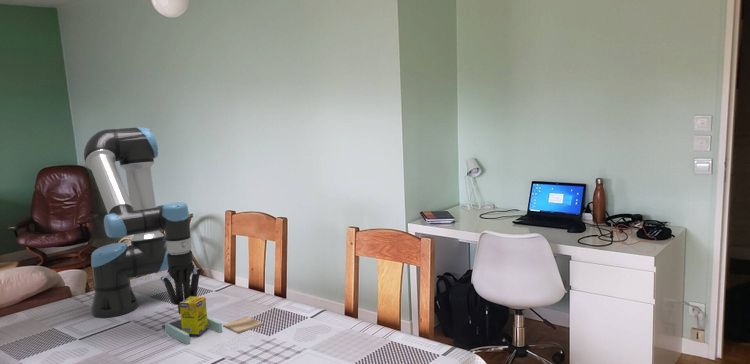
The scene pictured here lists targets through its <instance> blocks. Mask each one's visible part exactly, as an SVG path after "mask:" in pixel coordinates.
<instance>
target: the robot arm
mask: <svg viewBox="0 0 750 364" xmlns="http://www.w3.org/2000/svg"><path fill="white" fill-rule="evenodd" d="M158 155H159V148H158V142H157V140H156V137H155V135H154V133H153V131H152V129H149V128H148V127H137V126H135V127H128V128H127V127H126V128H125V127H124V128H112V129H110V128H107V129H103V130H100V131H97V132H96V133H95V134H93V135H92V136H91V137H90V138H89V139H88V141H87V142H86V144H85V147H84V149H83V160H84V163H85V165H86V167H87V168H88V170H91V172H92V175H93V177H94V179H95V181H94V182H95V184H96V186H97V188H98V192H99V194H100V196H101V199H102V201H103V204H104V207H105V210H106V213H107V214H106V215H104V218H103V226H104V227H103V228H104V231H105V234H106V236H107V237H108V238H111V239H114V238H123V237H127V236H132V235H133V236H132V238H131V239H130V243H131V244H130V245H127V244H126V242H115V243H110V244H106V245H103V246H100V247H98V248H97V249H94V251H93V252H92V253H91V255H90V257H91V258H90V259H91V263H90V264H91V265H90V266H91V268H92V269H91V270H92V277H93V285H94V286H93V287H94V295H93V299H92V304H91V315H92V316H93V317H96V318H111V317H117V316H121V315H126V314H129V313H131V312H133V311H134V310H136V309H137V308H139V302H138V298H137V296H136V294H135V292H134V290H133V288H132V286H131V285H132V284H131V279H132V278H133V279H134V278H137V277H142V276H147V275H151V274H158V273H161V272H163V271H164V272H165V271H166V270H167V273H166V274H165V275H164V276H161V277H160V280H161V282H162V283H163V284H164V286H165V289H166V292H167V294H168V298H169V299H170V302H171V304H172V305H175V306H177V311H178V314H179V315H181V314H180V302H182V301H183V300H185V299H187V298H188V297H190V296H194V297H198V287H199V282H200V281H199V280H200V276H201V273H202V268H198V267H195V265H194V263H193V260H194V258H193V251H192V238H191V228H190V213H189V208H188V204H187V203H185V202H170V203H166V204H160V205H156V204H157V203H156V199H155V191H154V185H153V176H152V169H151V167H152V166H153V164H155V160H154V159H156V158H158ZM116 162H118V163H119V166H120V168H122V170H124V171H125V177H126V184H127V189H126V188H125V185H124V182H123V180H122V177H121V175H120V172H119V170H118V168H117V166H116ZM127 190H128V191H127ZM163 230H164V234H163V233H162V231H163ZM172 280H173V283H174V286H173V283H172ZM174 287H175V290H174Z"/></svg>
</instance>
